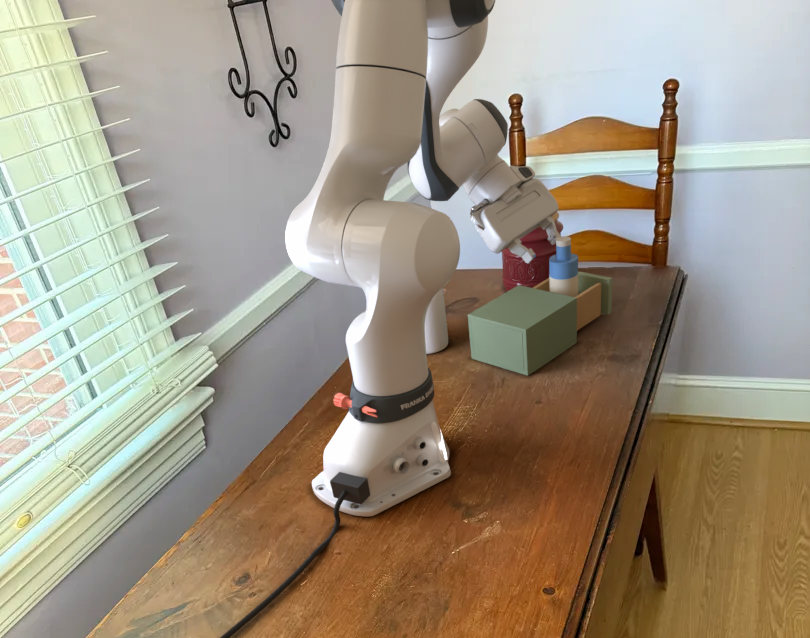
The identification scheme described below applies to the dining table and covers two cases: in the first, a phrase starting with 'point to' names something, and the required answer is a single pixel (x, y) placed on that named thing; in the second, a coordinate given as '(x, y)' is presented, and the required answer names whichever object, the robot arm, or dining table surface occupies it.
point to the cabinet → (523, 329)
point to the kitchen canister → (535, 270)
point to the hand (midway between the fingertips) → (545, 250)
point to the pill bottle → (436, 324)
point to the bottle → (563, 269)
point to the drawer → (589, 296)
